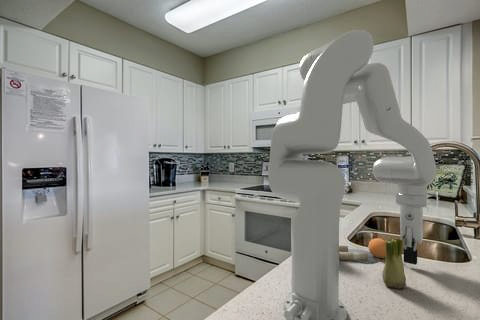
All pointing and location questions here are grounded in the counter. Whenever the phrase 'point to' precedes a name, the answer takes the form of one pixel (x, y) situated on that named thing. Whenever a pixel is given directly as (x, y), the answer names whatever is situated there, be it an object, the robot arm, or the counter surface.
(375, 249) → the ball
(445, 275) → the counter surface
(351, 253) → the front pin
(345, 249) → the back pin
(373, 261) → the light blue plate
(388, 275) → the fennel bulb
